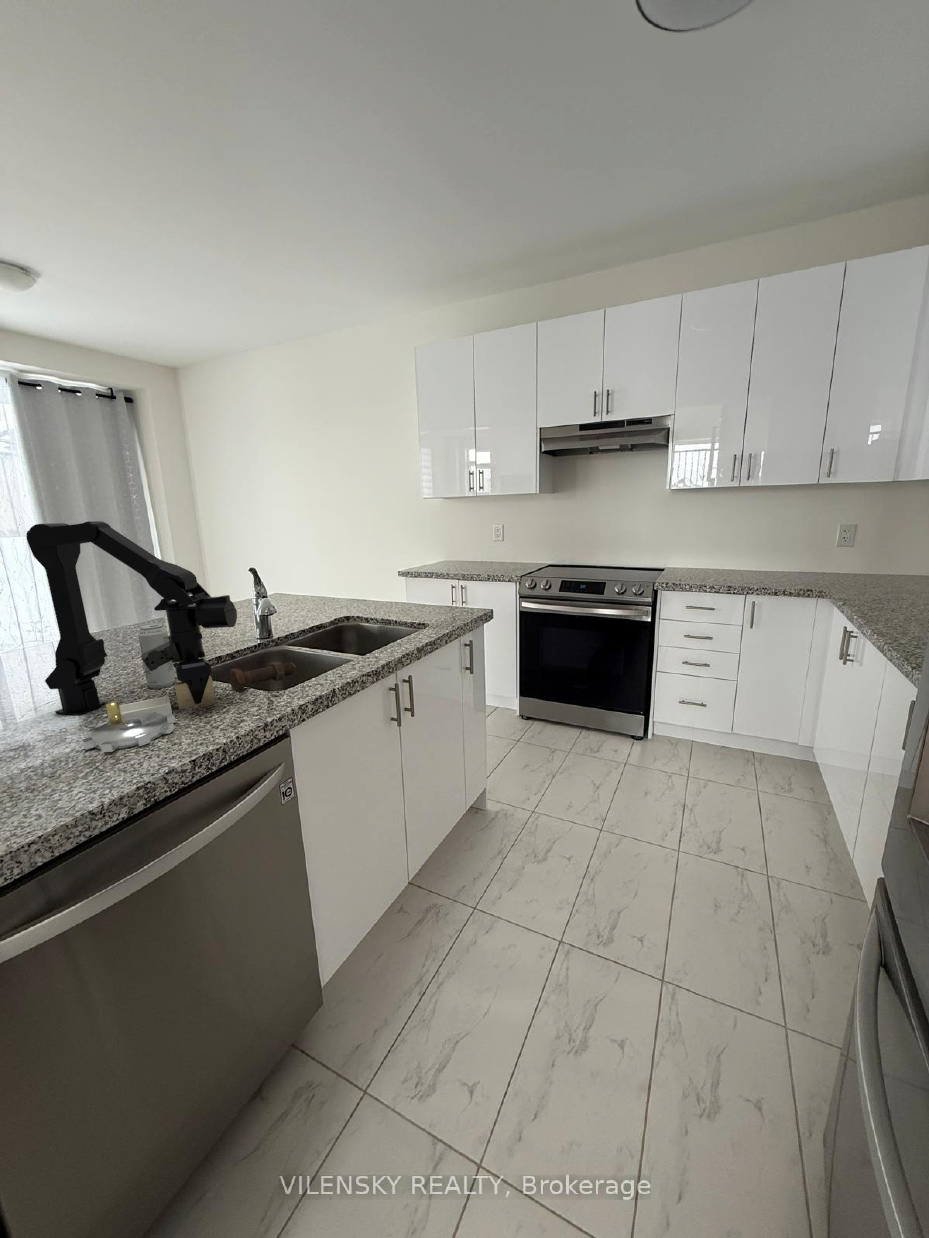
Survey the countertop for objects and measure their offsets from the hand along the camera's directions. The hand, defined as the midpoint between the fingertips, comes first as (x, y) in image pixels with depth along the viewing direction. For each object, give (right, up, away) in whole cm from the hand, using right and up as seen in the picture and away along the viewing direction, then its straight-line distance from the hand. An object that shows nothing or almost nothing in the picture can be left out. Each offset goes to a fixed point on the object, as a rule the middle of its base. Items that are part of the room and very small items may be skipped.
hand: (196, 698), depth 109 cm
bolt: (+10, +2, +13) cm, 16 cm away
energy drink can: (-16, +1, +13) cm, 21 cm away
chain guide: (-8, -3, -6) cm, 10 cm away
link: (0, -1, 0) cm, 1 cm away
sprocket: (-4, -5, -15) cm, 17 cm away
